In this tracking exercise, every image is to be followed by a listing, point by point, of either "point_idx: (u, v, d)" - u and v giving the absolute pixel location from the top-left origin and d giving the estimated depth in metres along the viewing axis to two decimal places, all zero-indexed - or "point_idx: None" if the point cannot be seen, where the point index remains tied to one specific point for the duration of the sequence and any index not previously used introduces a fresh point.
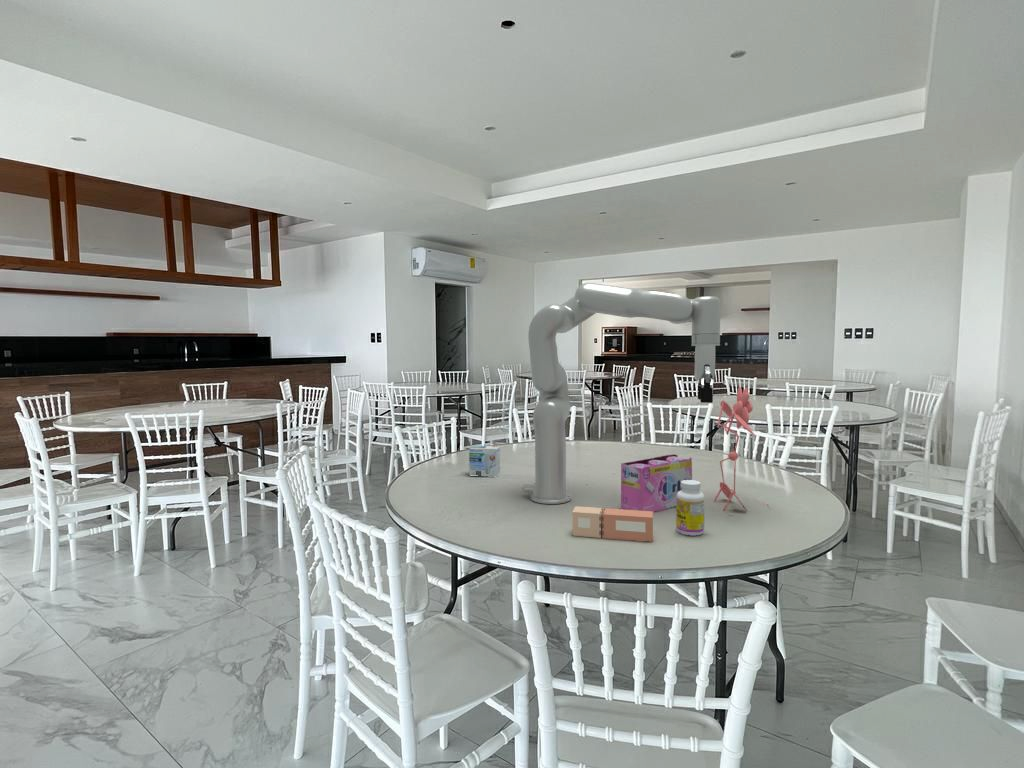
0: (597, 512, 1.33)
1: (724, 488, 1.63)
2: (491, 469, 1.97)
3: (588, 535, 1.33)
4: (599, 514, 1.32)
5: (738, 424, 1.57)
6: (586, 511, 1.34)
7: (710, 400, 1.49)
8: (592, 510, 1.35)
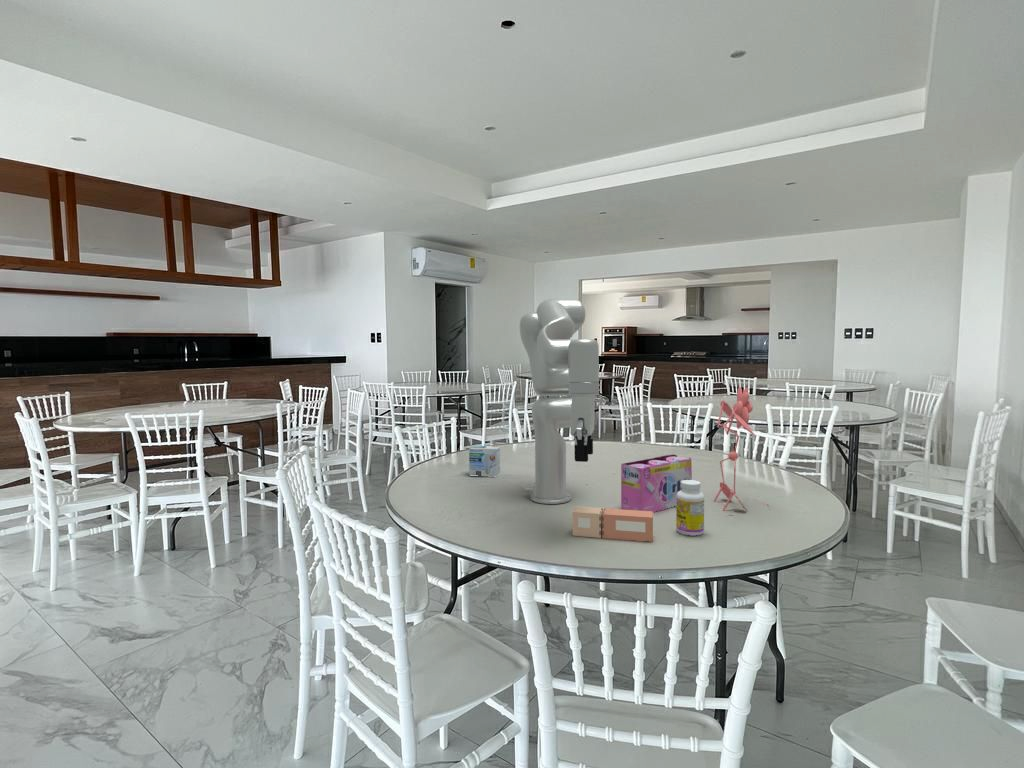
0: (597, 512, 1.33)
1: (724, 488, 1.63)
2: (491, 469, 1.97)
3: (588, 535, 1.33)
4: (599, 514, 1.32)
5: (738, 424, 1.57)
6: (586, 511, 1.34)
7: (585, 459, 1.29)
8: (592, 510, 1.35)
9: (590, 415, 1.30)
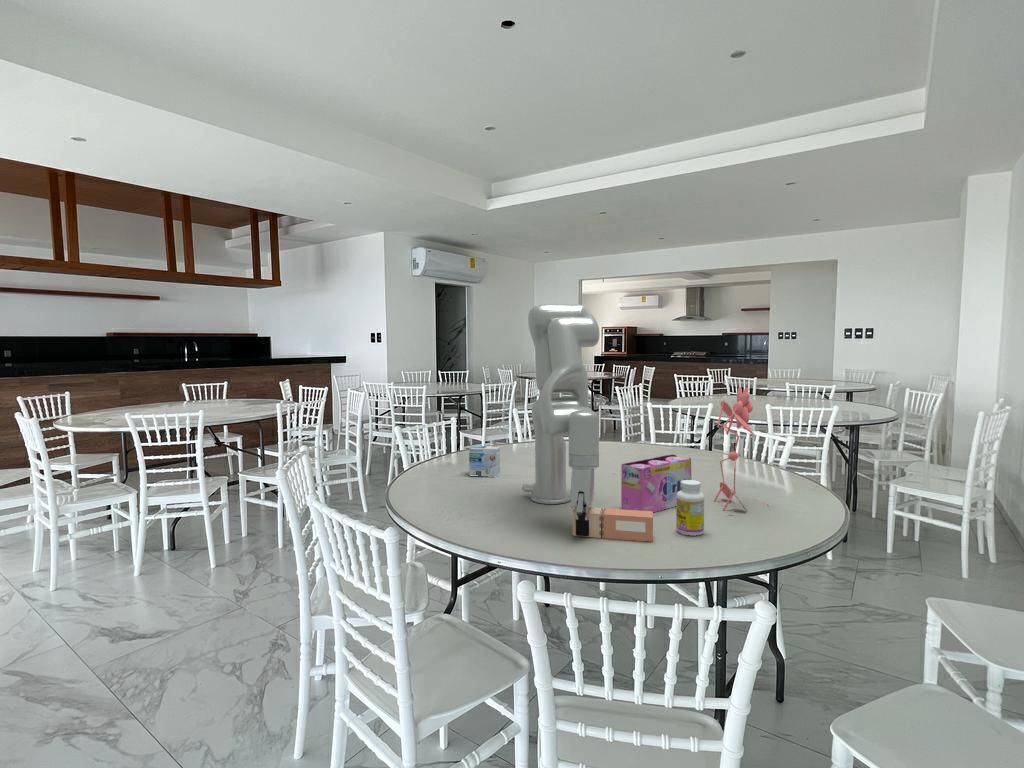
0: (597, 512, 1.33)
1: (724, 488, 1.63)
2: (491, 469, 1.97)
3: None
4: (599, 514, 1.32)
5: (738, 424, 1.57)
6: None
7: (586, 533, 1.33)
8: (592, 510, 1.35)
9: (590, 488, 1.31)
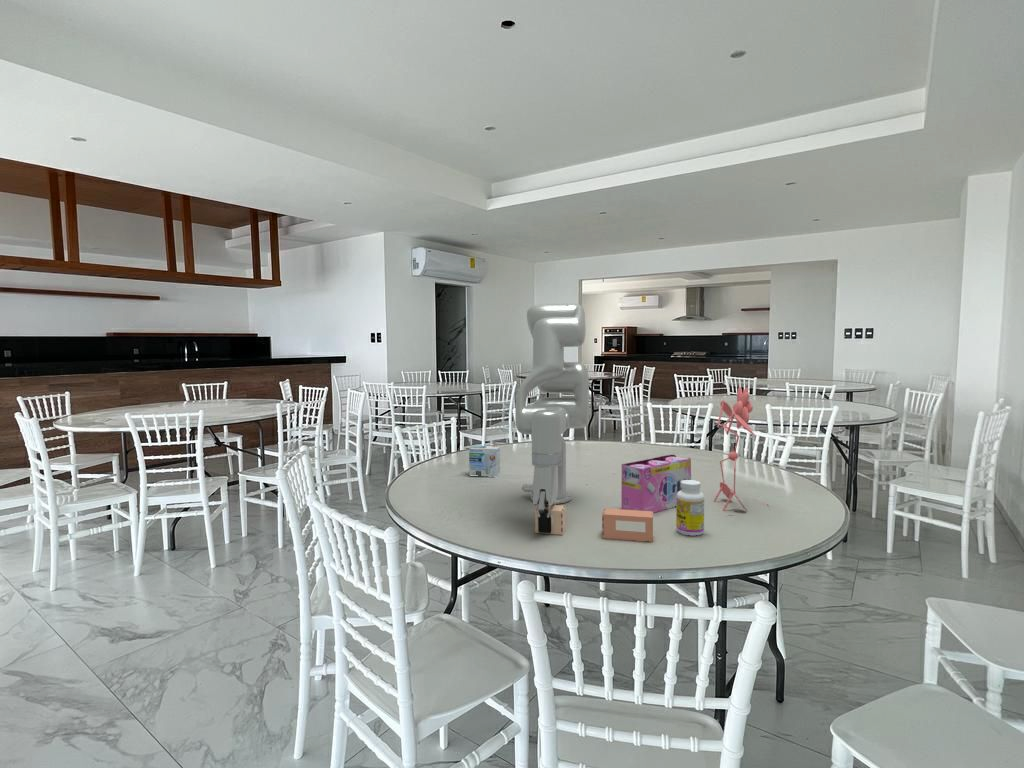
0: (559, 509, 1.36)
1: (724, 488, 1.63)
2: (491, 469, 1.97)
3: None
4: (561, 511, 1.35)
5: (738, 424, 1.57)
6: None
7: (548, 530, 1.35)
8: (555, 508, 1.37)
9: (552, 486, 1.33)
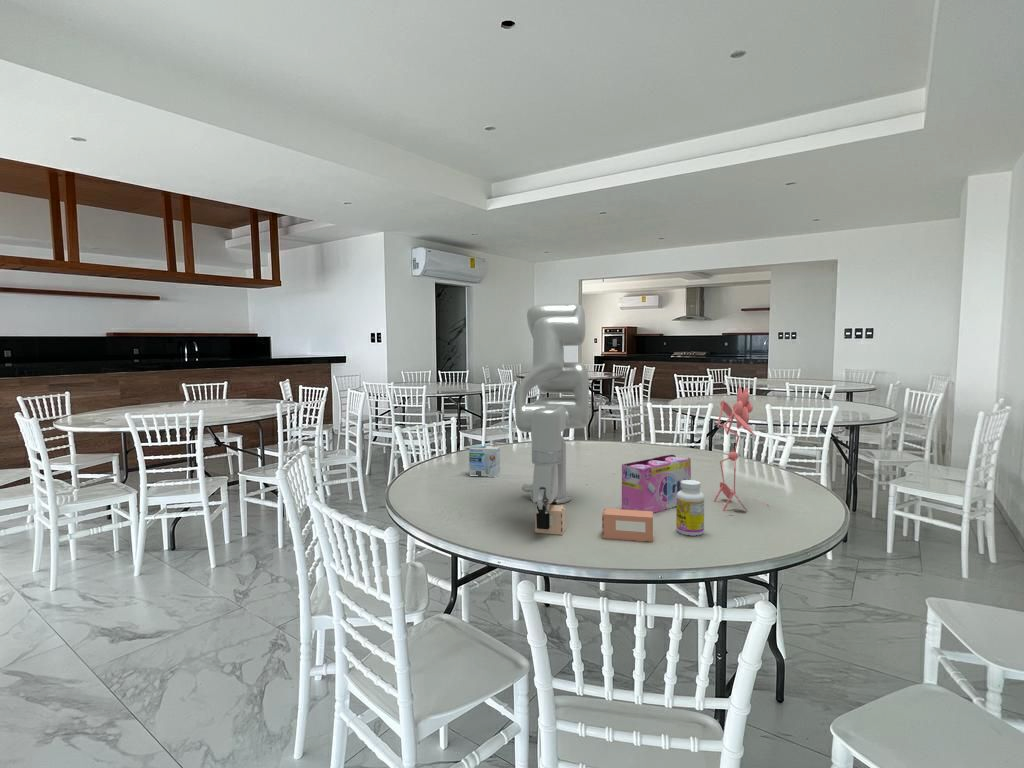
0: (559, 509, 1.36)
1: (724, 488, 1.63)
2: (491, 469, 1.97)
3: (550, 532, 1.36)
4: (561, 511, 1.35)
5: (738, 424, 1.57)
6: None
7: (546, 526, 1.34)
8: (554, 508, 1.37)
9: (551, 484, 1.34)
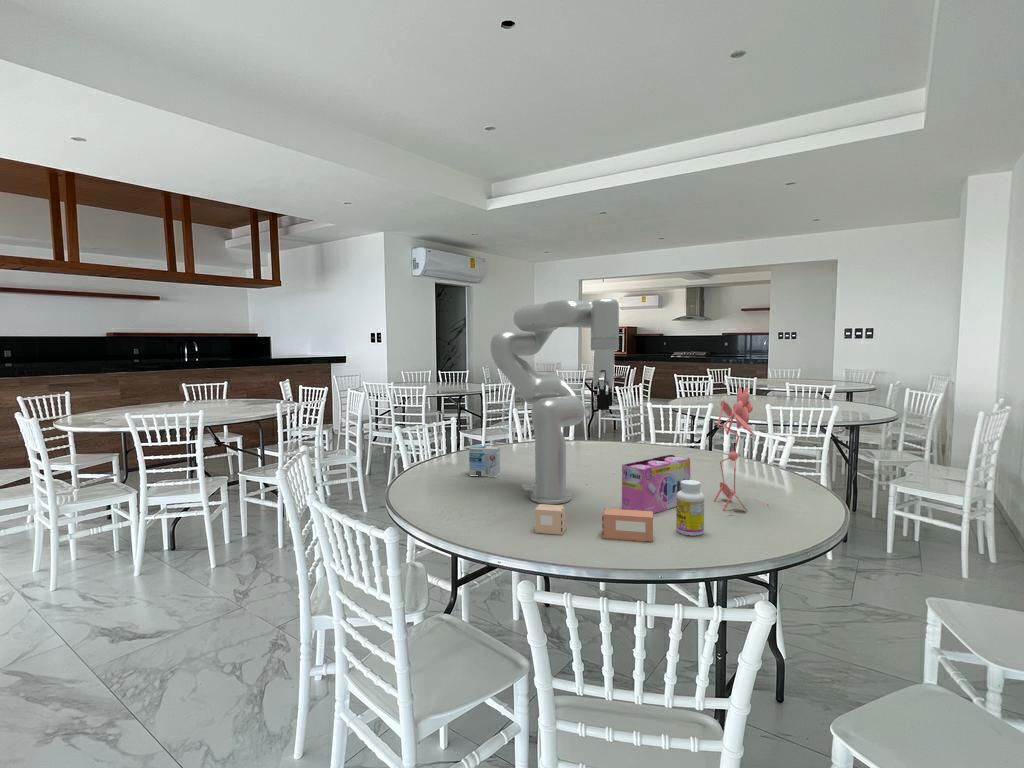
0: (559, 509, 1.36)
1: (724, 488, 1.63)
2: (491, 469, 1.97)
3: (550, 532, 1.36)
4: (561, 511, 1.35)
5: (738, 424, 1.57)
6: (548, 508, 1.37)
7: (606, 407, 1.42)
8: (554, 508, 1.37)
9: (611, 367, 1.43)
